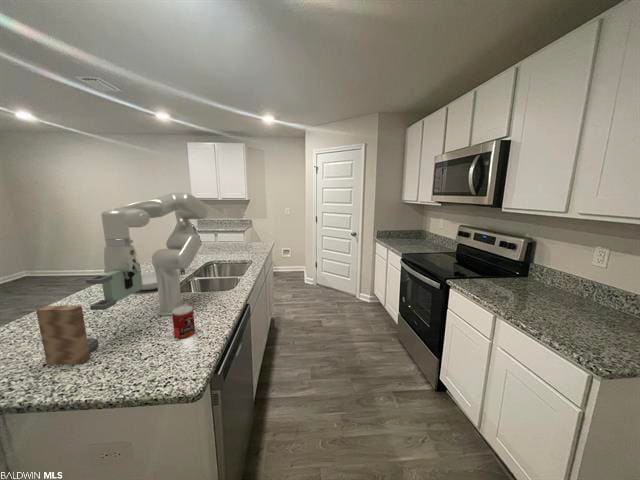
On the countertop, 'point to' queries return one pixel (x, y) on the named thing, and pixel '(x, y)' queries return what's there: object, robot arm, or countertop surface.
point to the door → (114, 287)
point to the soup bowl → (149, 281)
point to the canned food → (183, 322)
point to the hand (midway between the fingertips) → (124, 287)
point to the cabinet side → (64, 335)
